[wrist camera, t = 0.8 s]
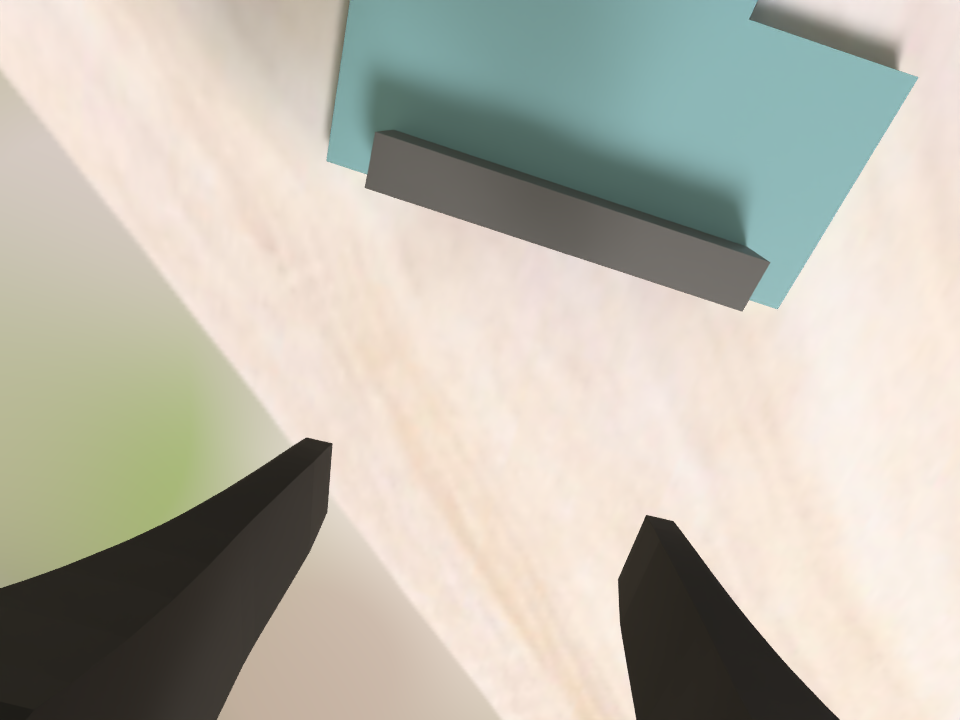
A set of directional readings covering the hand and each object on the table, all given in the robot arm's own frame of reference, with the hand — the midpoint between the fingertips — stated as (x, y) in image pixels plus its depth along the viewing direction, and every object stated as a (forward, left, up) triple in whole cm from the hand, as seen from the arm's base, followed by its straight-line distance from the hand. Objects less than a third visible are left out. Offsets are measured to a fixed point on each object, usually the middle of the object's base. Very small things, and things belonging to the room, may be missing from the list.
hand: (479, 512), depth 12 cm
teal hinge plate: (0, -10, -10) cm, 14 cm away
